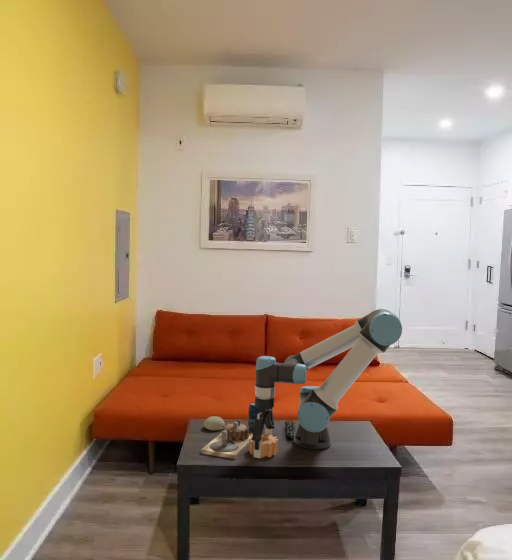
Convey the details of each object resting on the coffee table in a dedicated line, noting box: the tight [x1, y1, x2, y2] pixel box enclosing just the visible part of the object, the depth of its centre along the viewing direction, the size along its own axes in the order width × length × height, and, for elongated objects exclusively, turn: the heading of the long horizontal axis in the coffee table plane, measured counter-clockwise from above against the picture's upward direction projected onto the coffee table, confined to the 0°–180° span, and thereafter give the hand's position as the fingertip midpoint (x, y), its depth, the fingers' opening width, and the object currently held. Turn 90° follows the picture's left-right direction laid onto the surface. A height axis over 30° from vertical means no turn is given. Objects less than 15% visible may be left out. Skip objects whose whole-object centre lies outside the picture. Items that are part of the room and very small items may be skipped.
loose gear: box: [248, 433, 279, 458], centre depth 192 cm, size 11×11×5 cm
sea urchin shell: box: [203, 415, 226, 432], centre depth 217 cm, size 9×8×8 cm
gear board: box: [200, 419, 253, 460], centre depth 197 cm, size 14×24×8 cm, turn 161°
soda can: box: [247, 401, 265, 434], centre depth 215 cm, size 7×7×12 cm
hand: (262, 451), depth 192 cm, fingers open, 13 cm apart
